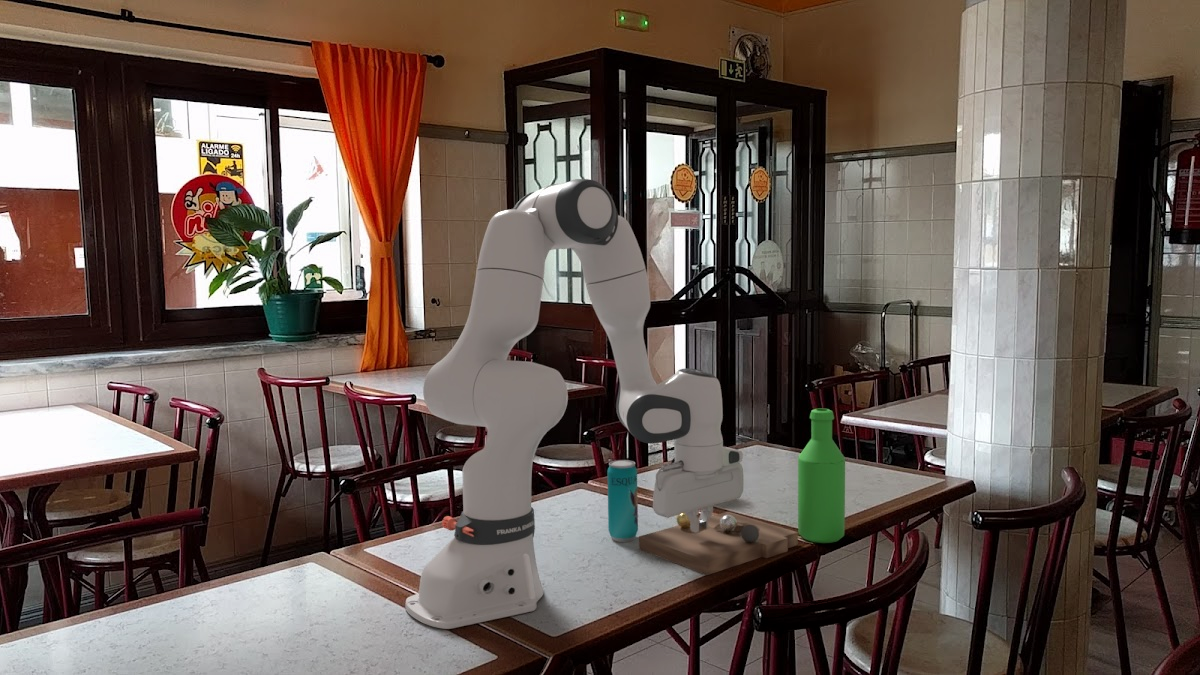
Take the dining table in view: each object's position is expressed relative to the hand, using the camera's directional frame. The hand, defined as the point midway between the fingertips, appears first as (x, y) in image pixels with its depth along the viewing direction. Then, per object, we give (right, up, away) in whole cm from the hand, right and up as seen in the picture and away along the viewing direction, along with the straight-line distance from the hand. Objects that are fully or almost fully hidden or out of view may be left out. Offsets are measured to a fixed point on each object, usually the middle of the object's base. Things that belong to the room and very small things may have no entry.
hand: (699, 530), depth 169 cm
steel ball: (+6, 0, +5) cm, 8 cm away
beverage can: (-14, -4, +10) cm, 17 cm away
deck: (+4, -4, +4) cm, 7 cm away
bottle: (+24, -3, +8) cm, 26 cm away
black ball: (+9, 0, -2) cm, 9 cm away
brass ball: (-2, 0, +7) cm, 8 cm away
